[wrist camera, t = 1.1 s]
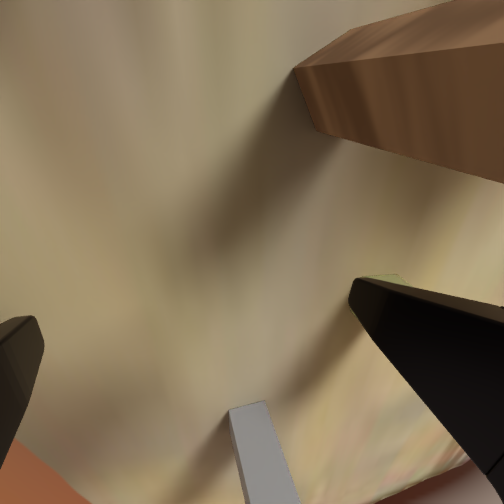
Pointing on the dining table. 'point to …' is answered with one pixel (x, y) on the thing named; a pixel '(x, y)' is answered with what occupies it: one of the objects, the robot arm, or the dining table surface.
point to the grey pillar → (260, 457)
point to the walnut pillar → (417, 86)
